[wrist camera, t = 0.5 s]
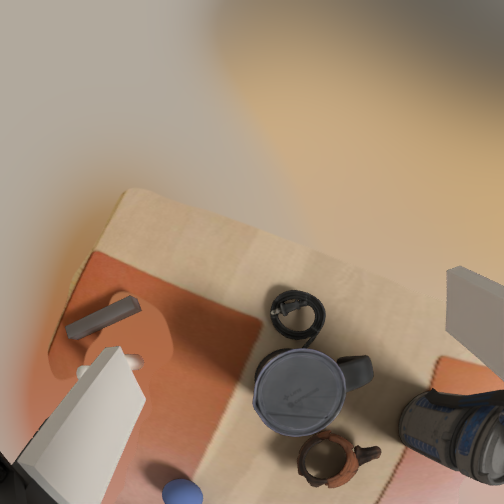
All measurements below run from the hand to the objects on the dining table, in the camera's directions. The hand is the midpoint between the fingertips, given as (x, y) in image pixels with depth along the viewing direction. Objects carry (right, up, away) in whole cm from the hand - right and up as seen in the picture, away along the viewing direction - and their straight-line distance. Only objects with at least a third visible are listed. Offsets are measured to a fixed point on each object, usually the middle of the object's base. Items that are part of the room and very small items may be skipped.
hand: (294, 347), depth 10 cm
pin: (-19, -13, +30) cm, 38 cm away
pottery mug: (+11, -27, +26) cm, 39 cm away
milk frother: (+4, -11, +31) cm, 33 cm away
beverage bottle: (+26, -23, +27) cm, 44 cm away
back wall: (-25, -7, +32) cm, 41 cm away
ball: (-12, -32, +21) cm, 40 cm away
